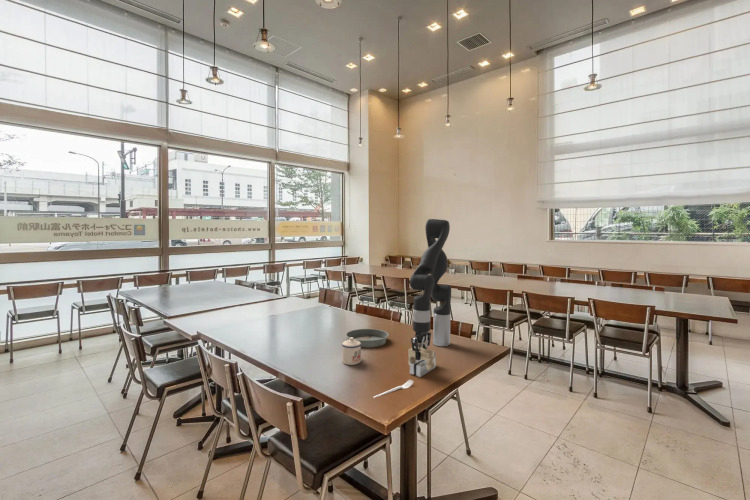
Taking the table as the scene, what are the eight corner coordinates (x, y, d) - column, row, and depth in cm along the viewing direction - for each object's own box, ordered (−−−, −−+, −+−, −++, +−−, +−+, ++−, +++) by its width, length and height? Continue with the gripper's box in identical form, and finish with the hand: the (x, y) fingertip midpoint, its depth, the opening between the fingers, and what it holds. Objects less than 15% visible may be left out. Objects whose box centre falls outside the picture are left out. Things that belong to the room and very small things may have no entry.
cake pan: (389, 336, 214) (389, 328, 214) (387, 349, 190) (387, 341, 190) (349, 335, 217) (349, 327, 216) (341, 347, 192) (341, 339, 192)
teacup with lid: (355, 366, 164) (355, 341, 164) (338, 363, 168) (338, 338, 168) (367, 358, 175) (367, 335, 174) (351, 355, 179) (351, 332, 178)
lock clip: (414, 361, 162) (414, 346, 162) (433, 366, 156) (434, 350, 156) (408, 364, 158) (408, 349, 158) (428, 370, 152) (428, 353, 152)
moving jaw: (429, 363, 169) (429, 350, 169) (436, 364, 167) (436, 352, 166) (409, 373, 156) (409, 360, 156) (416, 375, 154) (416, 361, 153)
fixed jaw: (431, 366, 165) (431, 356, 165) (435, 367, 164) (435, 357, 164) (416, 376, 154) (416, 365, 154) (420, 377, 153) (420, 366, 152)
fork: (370, 398, 135) (370, 393, 135) (409, 383, 147) (409, 378, 147) (375, 401, 132) (375, 396, 132) (414, 385, 144) (414, 381, 144)
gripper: (421, 324, 149) (420, 364, 149) (436, 318, 160) (436, 355, 161) (405, 321, 153) (405, 360, 154) (422, 315, 165) (421, 352, 165)
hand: (421, 358), depth 157 cm, fingers closed on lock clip, 5 cm apart
